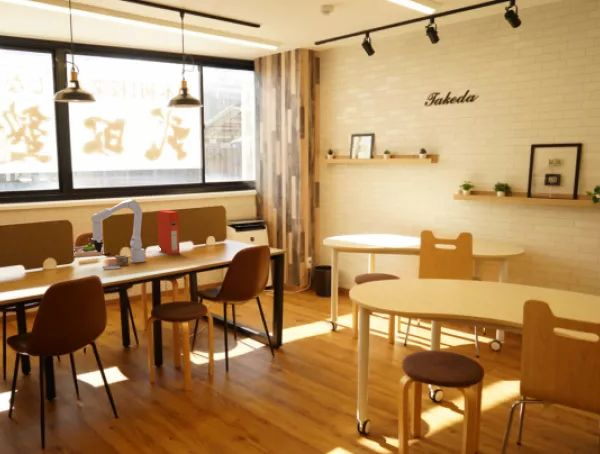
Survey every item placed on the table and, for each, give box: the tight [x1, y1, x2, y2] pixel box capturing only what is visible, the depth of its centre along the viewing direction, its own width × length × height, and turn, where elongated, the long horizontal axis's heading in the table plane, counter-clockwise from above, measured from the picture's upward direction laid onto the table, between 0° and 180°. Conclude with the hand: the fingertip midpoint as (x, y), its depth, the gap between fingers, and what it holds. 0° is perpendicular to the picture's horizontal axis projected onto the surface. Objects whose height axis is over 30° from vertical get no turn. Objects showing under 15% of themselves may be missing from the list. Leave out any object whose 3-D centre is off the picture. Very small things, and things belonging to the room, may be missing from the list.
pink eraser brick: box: [107, 257, 117, 266], centre depth 369 cm, size 10×3×5 cm, turn 118°
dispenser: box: [115, 254, 129, 267], centre depth 370 cm, size 7×6×6 cm
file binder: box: [157, 209, 180, 256], centre depth 412 cm, size 8×17×32 cm, turn 44°
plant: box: [75, 238, 103, 253], centre depth 410 cm, size 20×20×11 cm
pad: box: [102, 265, 122, 271], centre depth 360 cm, size 10×10×1 cm
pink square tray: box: [73, 244, 104, 258], centre depth 410 cm, size 25×25×3 cm
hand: (98, 251), depth 366 cm, fingers open, 7 cm apart
